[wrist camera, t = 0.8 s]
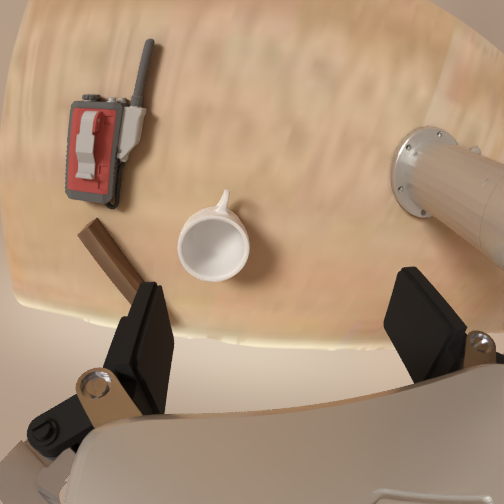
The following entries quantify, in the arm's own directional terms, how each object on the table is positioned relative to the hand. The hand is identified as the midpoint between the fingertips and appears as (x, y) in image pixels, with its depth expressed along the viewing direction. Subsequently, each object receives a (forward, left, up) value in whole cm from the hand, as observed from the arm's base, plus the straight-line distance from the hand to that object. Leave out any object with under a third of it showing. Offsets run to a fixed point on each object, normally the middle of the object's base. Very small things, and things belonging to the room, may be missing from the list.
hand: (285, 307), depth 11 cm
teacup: (+6, +4, -25) cm, 26 cm away
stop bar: (+20, +4, -25) cm, 32 cm away
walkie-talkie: (+11, -12, -25) cm, 30 cm away
